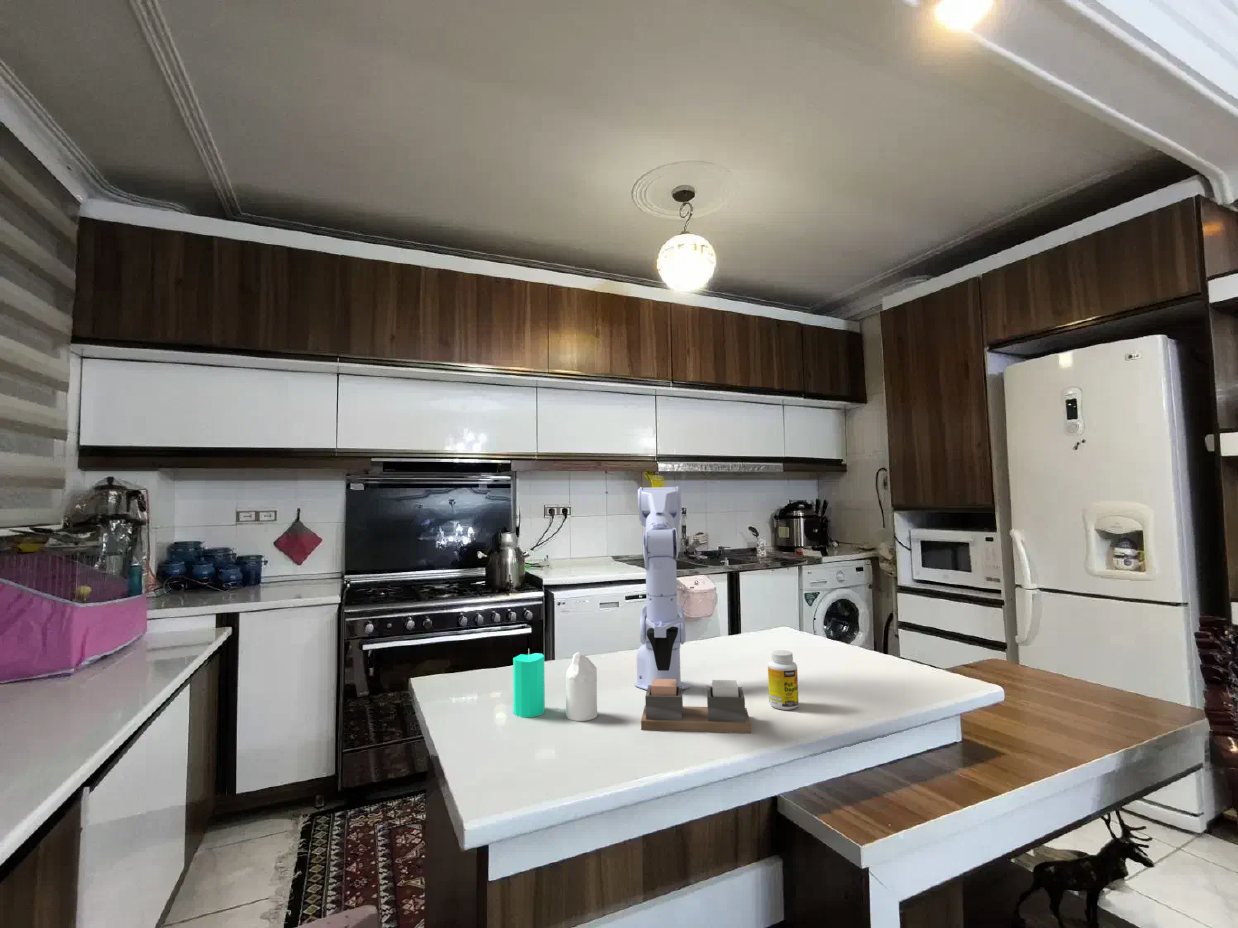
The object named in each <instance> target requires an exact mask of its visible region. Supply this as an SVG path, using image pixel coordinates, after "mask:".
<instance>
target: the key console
mask: <svg viewBox="0 0 1238 928" xmlns="http://www.w3.org/2000/svg"><path fill="white" fill-rule="evenodd" d="M644 697H645V705H644V708H643V712H642V716H641V719H640V729H641V730H643V731H673V732H675V731H676V732H699V733H701V732H702V733H703V732H707V733H737V734H738V733H739V734H742V733H743V734H751V733H752V727H751V726H752V724H751V720H750V717H749V712H748V709H747V707H746V700H745V695H744V691H743V687H742V686H738V697H713V690H712V685H711V686H710V685H709V686H706V699H707V702H706V703H707V704H706V705H707V706H687V705H686V706H684V705H683V699H684V698H683V690H682V686H677V696H658V695H651V685H648V688H647V690H646V692H645V695H644Z"/></svg>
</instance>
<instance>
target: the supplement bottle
mask: <svg viewBox="0 0 1238 928" xmlns="http://www.w3.org/2000/svg"><path fill="white" fill-rule="evenodd" d="M793 660H794V655H793V652H791V651H790V650H783V649H781V650H780V649H779V650H777V649H776V650H772V651H771V660H769V662H768V663H767V678H768V681H767V682H768V703H769V705H770V706H771V707H772V708H775V709H777V710H784V711H790V710H791V711H792V710H795V709H797V708H798V706H799V683H798V682H799V681H798V678H799V677H798V676H799V675H798V664H797V663H796V662H795V661H793Z"/></svg>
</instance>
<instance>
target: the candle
mask: <svg viewBox="0 0 1238 928" xmlns="http://www.w3.org/2000/svg"><path fill="white" fill-rule="evenodd" d="M527 651H528V653H527V654H523V653H522V654H521V653H520V654H519V655H516V656H515V657H513V658H512V662H513V664H512V672H513V674H512V676H513V677H512V678H513V679H512V680H513V682H512V683H513V684H512V685H513V694H512V695H513V698H512V699H513V705H512V706H513V714H514V715H515V716H516V715H517V716H516V717H519V716H520V718H533V717H538V716H541V715H543V714H544V713H545V711H546V706H545V705H546V701H545V697H546V696H545V695H546V694H545V655H544V654H543V653H539V652H538V653H537V652H535V653H532V654H531V653H530V648H528V650H527ZM540 714H541V715H540Z"/></svg>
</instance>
